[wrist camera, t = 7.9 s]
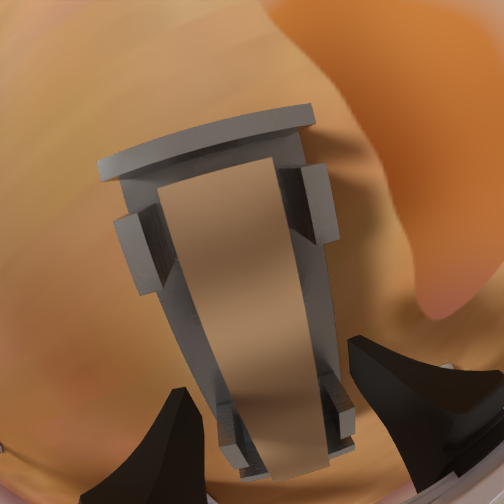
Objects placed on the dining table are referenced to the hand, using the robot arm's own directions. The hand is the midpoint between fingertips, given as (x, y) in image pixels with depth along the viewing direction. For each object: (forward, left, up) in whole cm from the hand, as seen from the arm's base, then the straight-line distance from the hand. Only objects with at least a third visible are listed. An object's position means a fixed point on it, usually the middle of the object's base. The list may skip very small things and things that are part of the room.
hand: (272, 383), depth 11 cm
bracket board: (0, 0, -5) cm, 5 cm away
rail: (0, 0, -4) cm, 4 cm away
